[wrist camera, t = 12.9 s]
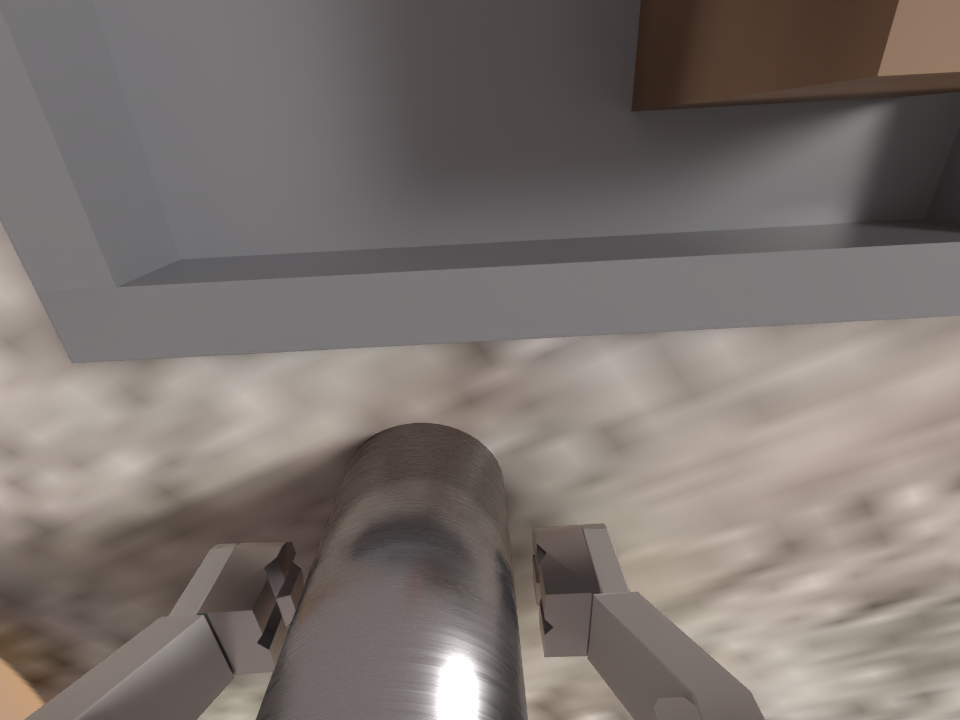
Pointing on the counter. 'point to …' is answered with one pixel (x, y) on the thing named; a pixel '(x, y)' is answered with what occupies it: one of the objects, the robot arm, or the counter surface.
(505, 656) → the metal cylinder
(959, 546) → the counter surface
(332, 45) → the parts tray
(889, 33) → the walnut block
